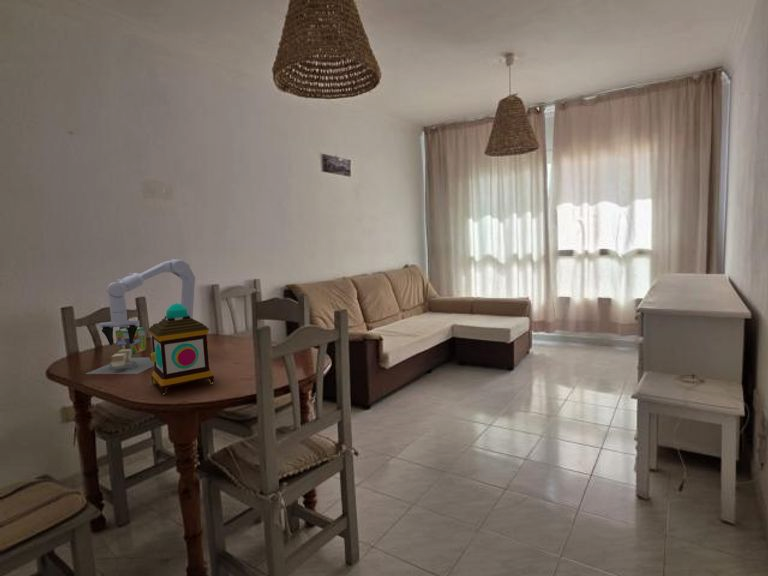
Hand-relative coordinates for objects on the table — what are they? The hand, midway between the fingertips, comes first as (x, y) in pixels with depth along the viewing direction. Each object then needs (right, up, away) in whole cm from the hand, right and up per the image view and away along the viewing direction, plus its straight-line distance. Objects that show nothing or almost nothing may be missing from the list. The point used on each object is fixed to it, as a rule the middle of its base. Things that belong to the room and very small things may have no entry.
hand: (121, 344), depth 186 cm
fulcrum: (+1, -10, -1) cm, 10 cm away
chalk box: (-11, -8, +28) cm, 31 cm away
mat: (+2, -10, +4) cm, 11 cm away
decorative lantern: (+35, -12, -22) cm, 44 cm away
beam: (+1, -7, -1) cm, 7 cm away
